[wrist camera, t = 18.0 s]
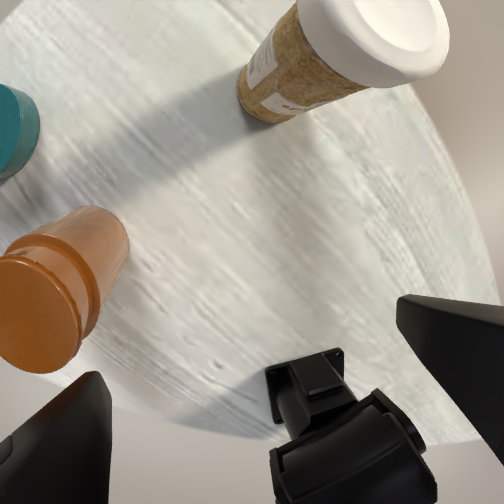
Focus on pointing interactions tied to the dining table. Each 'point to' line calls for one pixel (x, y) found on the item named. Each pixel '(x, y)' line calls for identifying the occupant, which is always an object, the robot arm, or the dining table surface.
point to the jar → (58, 287)
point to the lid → (16, 130)
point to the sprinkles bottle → (341, 53)
